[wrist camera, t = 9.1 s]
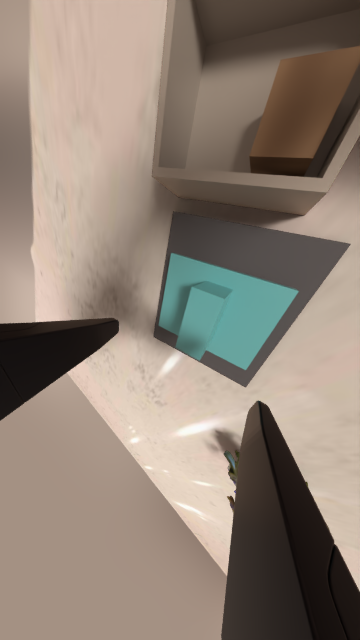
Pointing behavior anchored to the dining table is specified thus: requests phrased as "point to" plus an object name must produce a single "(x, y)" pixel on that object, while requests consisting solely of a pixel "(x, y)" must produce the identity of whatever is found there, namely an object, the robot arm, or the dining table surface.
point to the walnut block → (301, 110)
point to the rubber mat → (251, 272)
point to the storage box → (245, 97)
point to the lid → (220, 309)
